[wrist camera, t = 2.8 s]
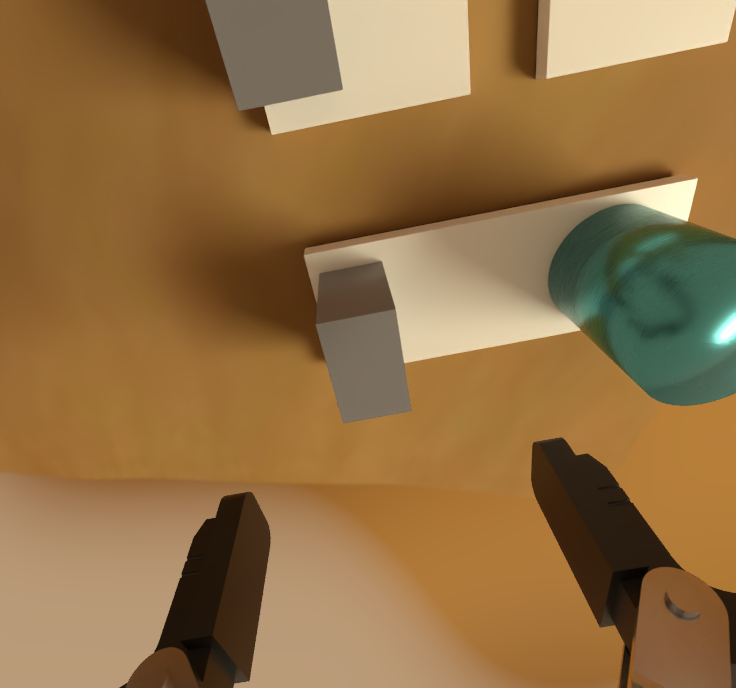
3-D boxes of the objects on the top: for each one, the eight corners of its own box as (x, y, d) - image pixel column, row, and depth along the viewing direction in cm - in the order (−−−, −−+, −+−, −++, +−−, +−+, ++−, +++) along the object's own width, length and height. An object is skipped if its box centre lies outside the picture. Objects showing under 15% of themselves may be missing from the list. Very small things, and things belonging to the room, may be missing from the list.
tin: (544, 329, 22) (623, 417, 16) (551, 217, 19) (654, 276, 13) (657, 308, 22) (779, 389, 16) (683, 192, 18) (850, 239, 12)
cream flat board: (335, 365, 23) (336, 442, 18) (304, 248, 20) (295, 302, 14) (652, 306, 23) (744, 368, 18) (681, 174, 19) (809, 204, 14)
